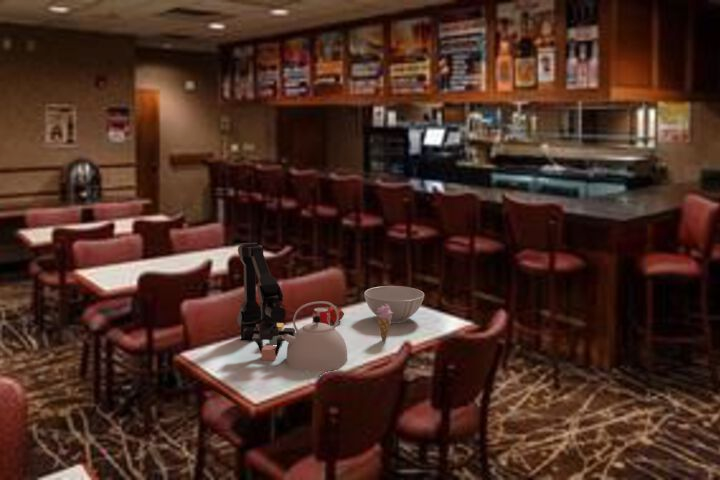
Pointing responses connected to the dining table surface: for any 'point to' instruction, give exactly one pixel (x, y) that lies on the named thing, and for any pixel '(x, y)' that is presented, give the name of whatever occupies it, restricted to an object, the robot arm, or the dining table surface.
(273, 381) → the dining table surface
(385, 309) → the ice cream cone
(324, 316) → the soda can
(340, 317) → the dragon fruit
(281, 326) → the mustard brick
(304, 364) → the kettle
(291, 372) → the dining table surface
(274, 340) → the teal base brick
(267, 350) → the terracotta brick
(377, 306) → the decorative bowl
